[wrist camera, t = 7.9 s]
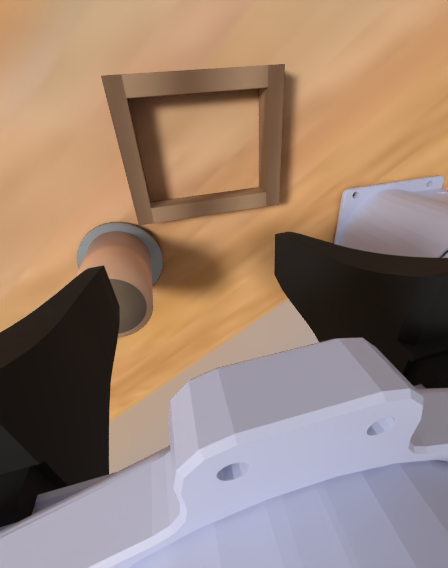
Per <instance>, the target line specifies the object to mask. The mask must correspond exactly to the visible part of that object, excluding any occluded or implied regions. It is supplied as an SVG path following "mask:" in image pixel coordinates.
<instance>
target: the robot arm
mask: <svg viewBox="0 0 448 568" xmlns="http://www.w3.org/2000/svg"><path fill="white" fill-rule="evenodd" d="M427 183H428V184H427ZM443 183H444V177H443V176H439V175H437V176H430V177H423V178H417V179H410V180H403V181H396V182H389V183H383V184H376V185H369V186H362V187H355V188H349V189H346V190H345V191H344V192H343V194H342V199H341V205H340V211H339V217H338V223H337V229H336V235H335V241H334V244H333V243H329V242H325V241H322V240H319V239H315V238H312V237H309V236H305V235H302V234H298V233H293V232H285V233H279V234H275V276H276V278H277V280H278V282H279V284H280V286H281V288H282V290H283V291H284V293H285V294H286V296H287V297H288V298H289V300H290V301H291V302H292V304H293V305H294V306H295V308H296V309H297V310H298V312H299V313H300V314H301V316H302V317H303V318H304V320H305V321H306V322H307V324H308V325H309V326H310V328H311V329H312V331H313V332H314V333H315V336H316V337H317V339H318V341H319V343H315V344H311V345H307V346H303V347H299V348H295V349H291V350H287V351H283V352H279V353H275V354H271V355H267V356H263V357H259V358H255V359H251V360H247V361H243V362H239V363H235V364H231V365H227V366H222V367H218V368H216V369H213V370H211V371H209V372H206V373H204V374H202V375H200V376H197V377H195V378H193V379H191V380H190V381H189V382H188V383H187V384H186V385H185V386H184V387H183V388H182V389H181V390H180V391H179V392H178V393H177V394H176V395H175V396H174V397H173V399H171V402H170V412H169V432H170V446H168V447H166V448H164V449H162V450H160V451H158V452H156V453H154V454H152V455H150V456H148V457H146V458H144V459H142V460H140V461H138V462H136V463H134V464H132V465H130V466H128V467H126V468H124V469H122V470H120V471H118V472H116V473H112V474H109V403H110V383H111V374H112V368H113V362H114V356H115V350H116V345H117V339H118V332H119V324H120V306H119V303H118V301H117V298H116V295H115V293H114V290H113V287H112V285H111V282H110V280H109V277H108V274H107V272H106V269H105V266H104V265H103V266H98V267H92V268H88V269H86V270H85V271H83V272H82V273H81V274H79V275H78V276H77V277H76V278H74V279H73V280H72V281H71V282H70V283H69V284H67V285H66V286H65V287H64V288H63V289H61V290H60V291H59V292H58V293H57V294H55V295H54V296H53V297H52V298H50V299H49V300H48V301H46V302H45V303H44V304H43V305H41V306H40V307H39V308H37V309H36V310H35V311H33V312H32V313H30V314H29V315H28V316H26V317H25V318H23V319H22V320H20V321H18V322H17V323H15V324H14V325H12V326H11V327H9V328H7V329H6V330H4V331H2V332H0V568H448V190H445V189H441V188H442V185H443ZM355 192H356V194H355V195H354V196H353V194H354V193H355Z"/></svg>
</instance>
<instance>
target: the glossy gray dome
mask: <svg viewBox="0 0 448 568" xmlns="http://www.w3.org/2000/svg"><path fill="white" fill-rule="evenodd" d="M112 231H122V232H127V233H130V234H132V235H134V236H136V237H138V238H139V239H140V240H142V241H143V242H144V243H145V245H146V246H147V247H148V249H149V252H150V255H151V266H152V285H153V284H154V283H155V282H156V281H157V280H158V278H159V276H160V274H161V271H162V267H163V258H162V252H161V249H160V247H159V245H158V243H157V241H156V240H155V239H154V238H153V236H152V235H151V234H149V233H148V232H147V231H146V230H144V229H142V228H141V227H139V226H136V225H134V224H130V223H125V222H110V223H105V224H102V225H99V226H97V227H95V228H94V229H92V230H91V231H90V232H89V233H88V234H87V235H86V236H85V237H84V238H83V240H82V242H81V244H80V246H79V249H78V253H77V263H78V267H79V268H80V266H81V264H82V261H83V259H84V257H85V254H86V252H87V249H88V247H89V245H90V244H91V242H92V241H93V240H94V239H95V238H96V237H98V236H99V235H101V234H104V233H107V232H112Z"/></svg>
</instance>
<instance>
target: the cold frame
mask: <svg viewBox="0 0 448 568" xmlns="http://www.w3.org/2000/svg"><path fill="white" fill-rule="evenodd" d="M284 72H285V64H279V65H264V66H248V67H232V68H216V69H201V70H185V71H169V72H153V73H137V74H122V75H106V76H101V78H102V82H103V86H104V90H105V94H106V97H107V101H108V105H109V109H110V113H111V117H112V121H113V125H114V129H115V133H116V137H117V141H118V145H119V149H120V152H121V156H122V160H123V164H124V168H125V172H126V176H127V180H128V184H129V188H130V192H131V196H132V200H133V203H134V207H135V211H136V215H137V219H138V223H139V225H145V224H152V223H158V222H165V221H172V220H178V219H185V218H192V217H198V216H205V215H212V214H218V213H225V212H231V211H238V210H245V209H251V208H258V207H265V206H271V205H278V204H279V193H280V169H281V145H282V121H283V96H284ZM250 89H259V187H257V188H250V189H243V190H235V191H228V192H221V193H214V194H206V195H199V196H192V197H185V198H177V199H170V200H163V201H156V202H150V197H149V193H148V188H147V184H146V179H145V174H144V170H143V165H142V161H141V156H140V152H139V147H138V143H137V138H136V133H135V129H134V124H133V120H132V115H131V111H130V106H129V102H128V99H134V98H146V97H159V96H172V95H185V94H198V93H211V92H224V91H237V90H250Z"/></svg>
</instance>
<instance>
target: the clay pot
mask: <svg viewBox="0 0 448 568" xmlns="http://www.w3.org/2000/svg"><path fill="white" fill-rule="evenodd" d="M103 265H104V266H105V269H106V272H107V274H108V277H109V280H110V282H111V285H112V287H113V290H114V293H115V295H116V298H117V301H118V303H119V306H120V324H119V332H118V338H119V337H124V336H128V335H131V334H133V333H135V332H137V331H138V330H140V329H141V328H142V327H144V326H145V325H146V323H147V322H148V321H149V319H150V317H151V315H152V311H153V294H152V266H151V255H150V252H149V249H148V247H147V246H146V245H145V243H144V242H143V241H142V240H140V239H139V238H138V237H136V236H134V235H132V234H130V233H127V232H122V231H112V232H107V233H104V234H101V235H99V236H98V237H96V238H95V239H94V240H93V241H92V242H91V244H90V245H89V247H88V249H87V252H86V254H85V257H84V259H83V261H82V264H81V266H80V268H79V271H78V273H77V276H78V275H79V274H81V273H82V272H83V271H85V270H86V269H88V268H92V267H98V266H103ZM77 276H76V277H77Z"/></svg>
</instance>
